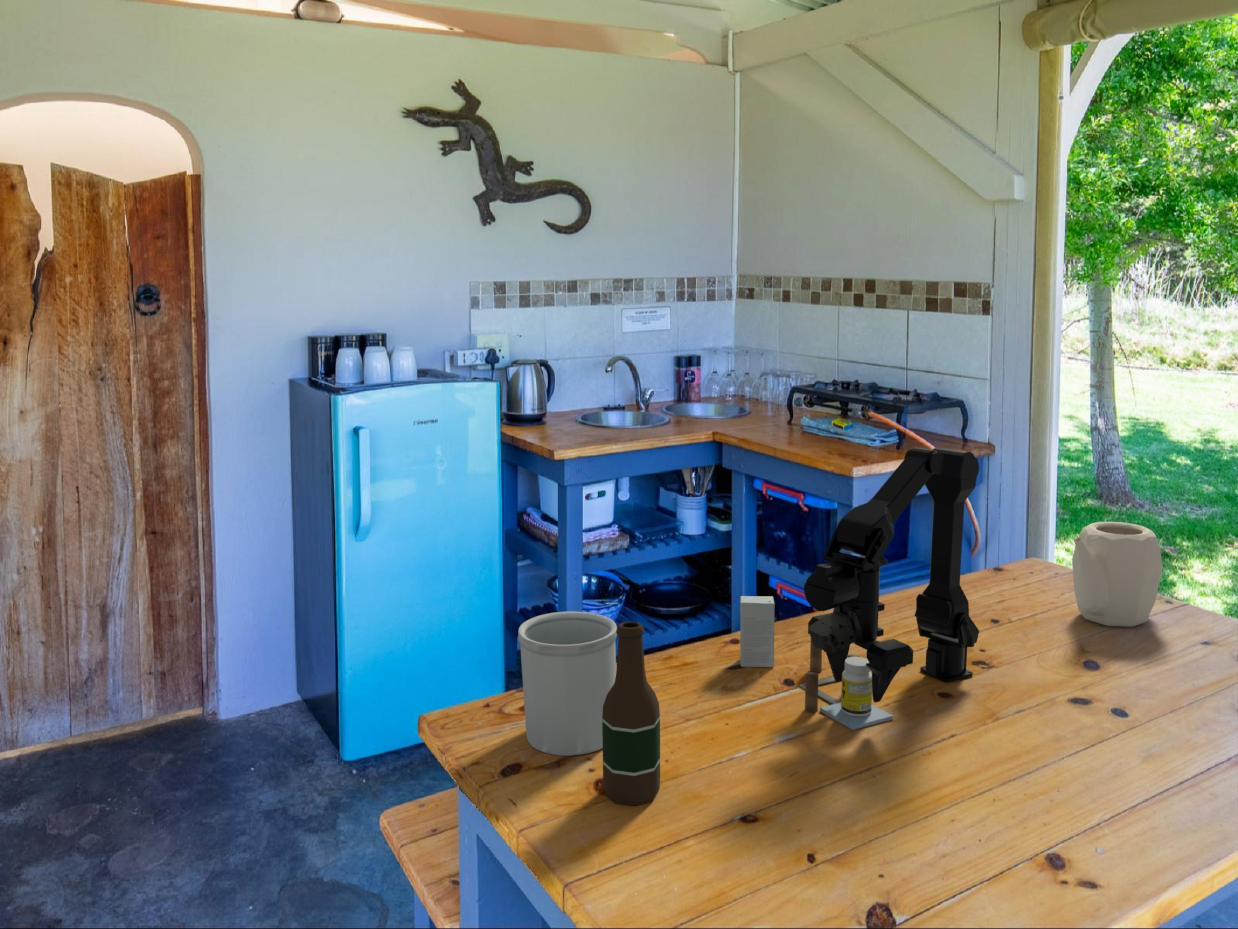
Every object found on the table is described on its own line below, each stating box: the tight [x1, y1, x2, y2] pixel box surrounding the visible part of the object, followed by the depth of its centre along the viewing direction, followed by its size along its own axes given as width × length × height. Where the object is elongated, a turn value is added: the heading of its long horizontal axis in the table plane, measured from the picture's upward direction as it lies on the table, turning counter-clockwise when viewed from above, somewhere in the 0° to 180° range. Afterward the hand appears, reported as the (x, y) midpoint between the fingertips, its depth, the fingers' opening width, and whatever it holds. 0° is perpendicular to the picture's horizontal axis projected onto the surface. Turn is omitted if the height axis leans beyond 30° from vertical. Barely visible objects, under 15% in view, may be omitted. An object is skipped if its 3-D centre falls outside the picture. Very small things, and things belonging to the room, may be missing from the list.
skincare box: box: [739, 595, 776, 668], centre depth 188 cm, size 6×4×12 cm
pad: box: [819, 701, 894, 731], centre depth 167 cm, size 8×8×1 cm
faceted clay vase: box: [1071, 521, 1163, 628], centre depth 208 cm, size 16×27×19 cm, turn 124°
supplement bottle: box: [840, 656, 873, 717], centre depth 166 cm, size 5×5×8 cm
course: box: [799, 639, 861, 714], centre depth 177 cm, size 14×15×6 cm
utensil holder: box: [517, 610, 618, 757], centre depth 159 cm, size 15×15×18 cm
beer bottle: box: [602, 621, 661, 807], centre depth 141 cm, size 8×8×24 cm
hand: (857, 691), depth 166 cm, fingers open, 9 cm apart
